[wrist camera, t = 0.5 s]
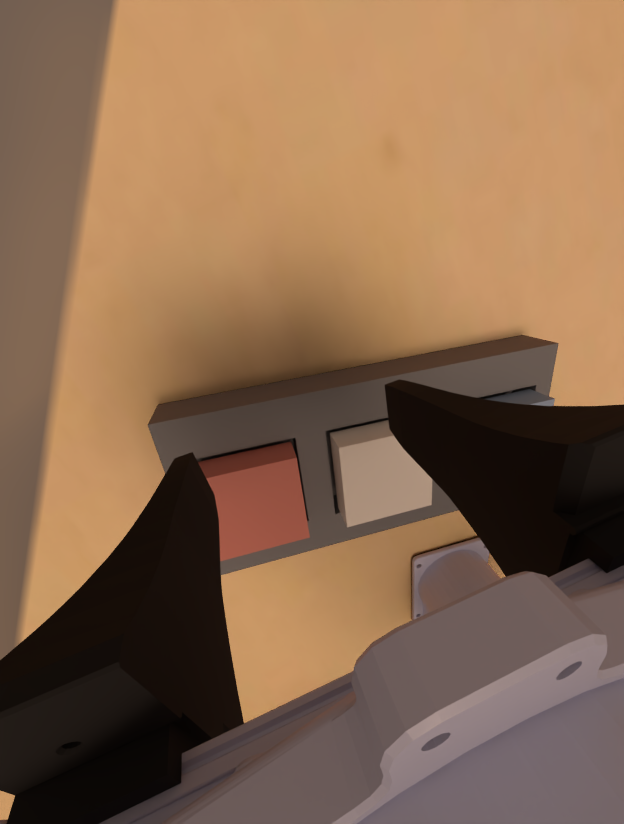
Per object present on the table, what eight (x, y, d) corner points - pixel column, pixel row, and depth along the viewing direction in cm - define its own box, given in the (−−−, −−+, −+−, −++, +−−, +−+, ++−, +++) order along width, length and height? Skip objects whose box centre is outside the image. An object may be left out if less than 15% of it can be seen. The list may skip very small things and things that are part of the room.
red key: (303, 516, 23) (309, 537, 22) (215, 539, 22) (214, 562, 21) (290, 441, 21) (296, 457, 19) (191, 463, 20) (187, 482, 18)
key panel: (504, 470, 30) (531, 490, 27) (206, 547, 26) (203, 579, 23) (522, 335, 25) (558, 343, 22) (157, 404, 21) (147, 424, 18)
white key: (416, 487, 25) (431, 505, 23) (338, 507, 24) (347, 527, 22) (417, 413, 22) (434, 426, 20) (329, 432, 21) (338, 447, 20)
